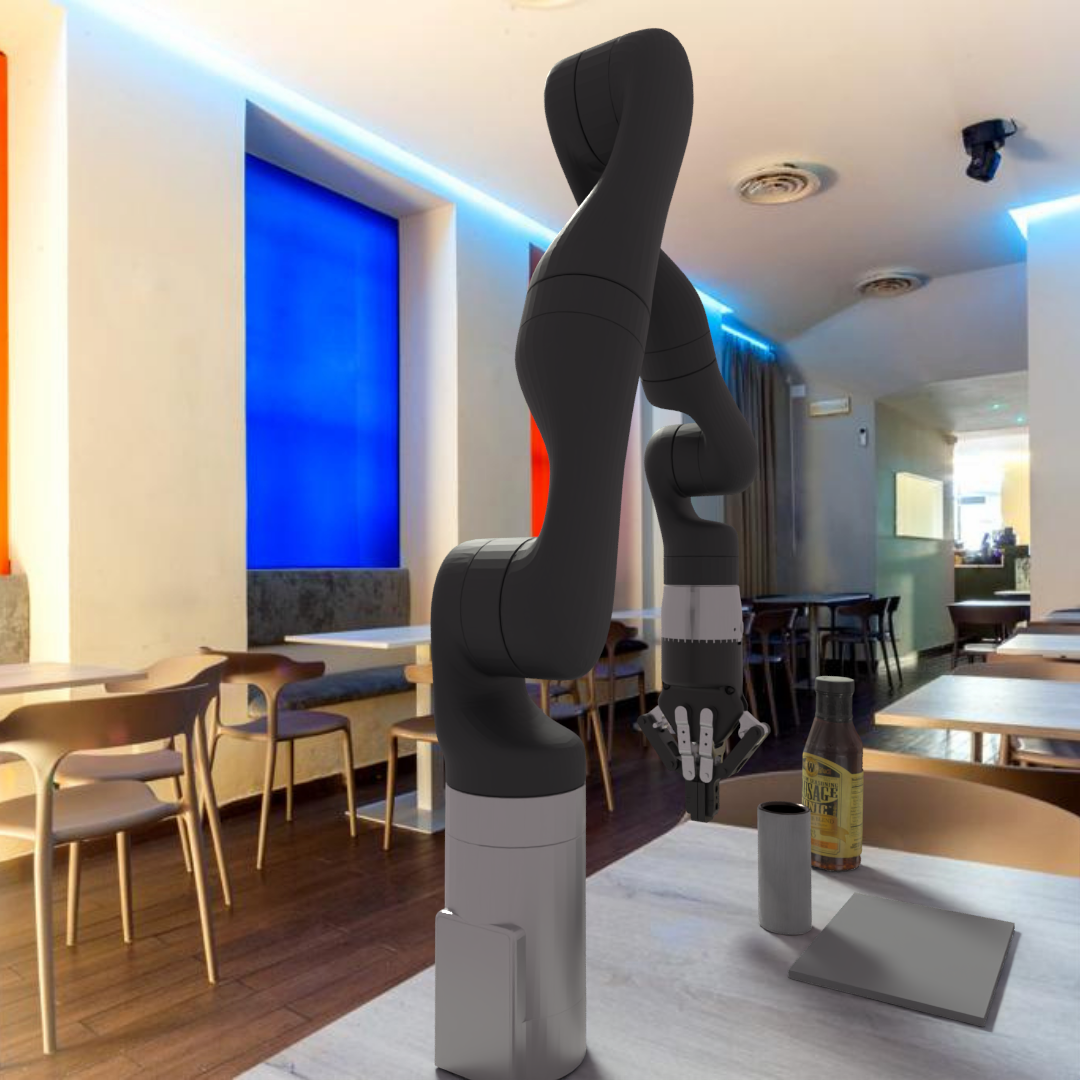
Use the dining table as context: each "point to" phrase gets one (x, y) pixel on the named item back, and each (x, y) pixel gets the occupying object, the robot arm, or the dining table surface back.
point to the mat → (910, 957)
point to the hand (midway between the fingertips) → (702, 819)
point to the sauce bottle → (834, 778)
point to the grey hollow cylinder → (784, 867)
